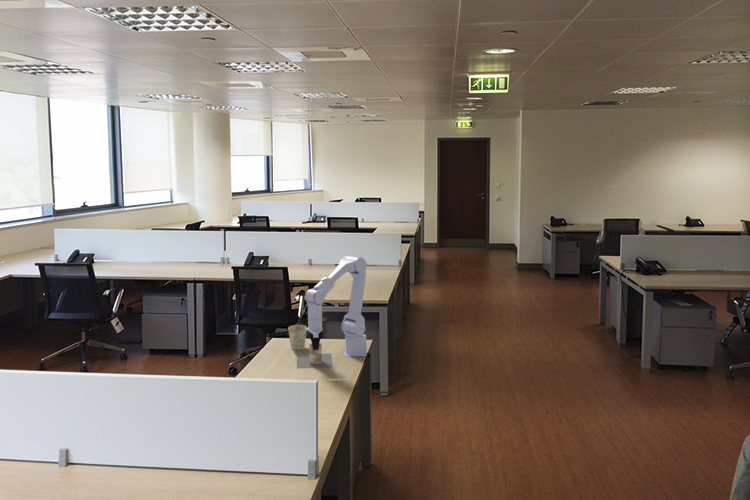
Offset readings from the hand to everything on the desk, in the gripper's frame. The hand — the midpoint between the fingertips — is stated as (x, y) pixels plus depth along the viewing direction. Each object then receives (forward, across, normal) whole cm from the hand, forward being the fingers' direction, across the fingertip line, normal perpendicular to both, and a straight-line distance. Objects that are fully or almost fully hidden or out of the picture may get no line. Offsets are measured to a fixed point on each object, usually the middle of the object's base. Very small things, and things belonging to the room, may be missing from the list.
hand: (315, 349), depth 268 cm
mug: (+8, -24, -8) cm, 27 cm away
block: (+7, -3, 0) cm, 8 cm away
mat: (+7, -6, 0) cm, 10 cm away
